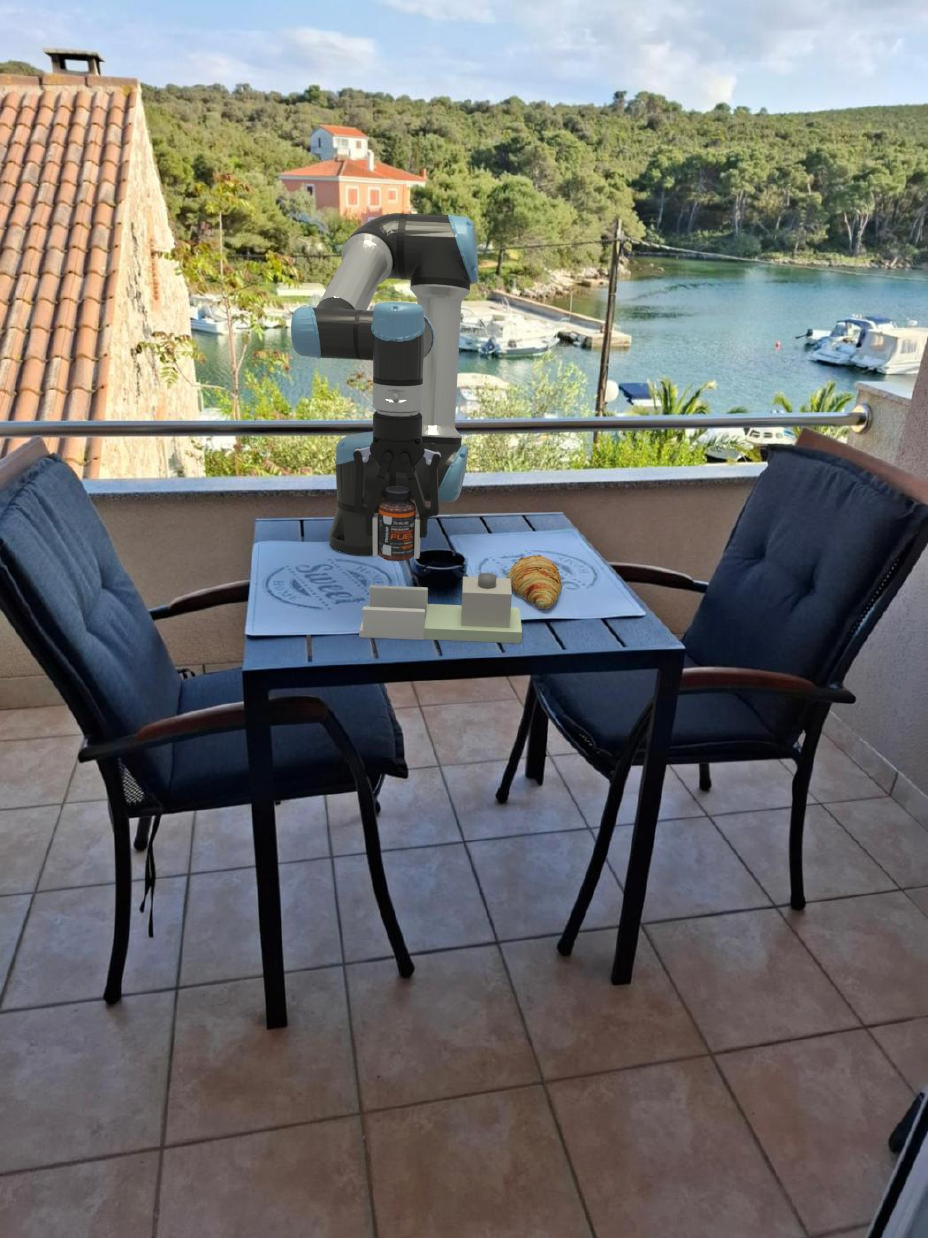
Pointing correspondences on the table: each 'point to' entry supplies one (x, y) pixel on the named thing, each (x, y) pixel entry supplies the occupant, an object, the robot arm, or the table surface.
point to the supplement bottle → (396, 525)
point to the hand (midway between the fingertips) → (396, 554)
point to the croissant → (536, 580)
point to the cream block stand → (444, 613)
